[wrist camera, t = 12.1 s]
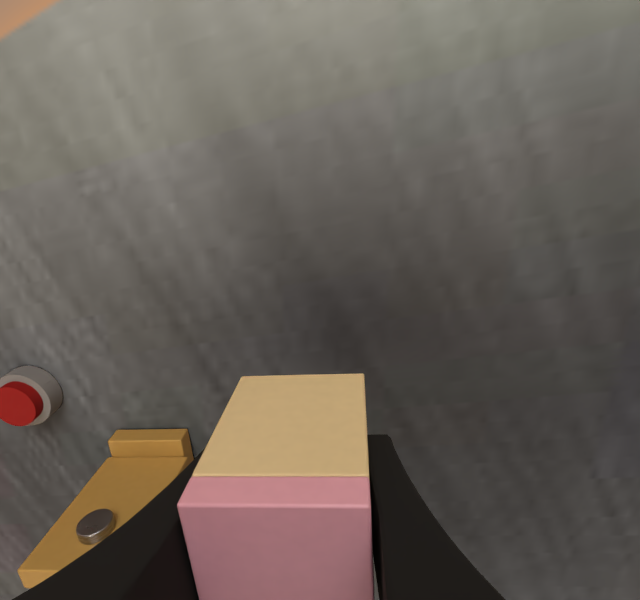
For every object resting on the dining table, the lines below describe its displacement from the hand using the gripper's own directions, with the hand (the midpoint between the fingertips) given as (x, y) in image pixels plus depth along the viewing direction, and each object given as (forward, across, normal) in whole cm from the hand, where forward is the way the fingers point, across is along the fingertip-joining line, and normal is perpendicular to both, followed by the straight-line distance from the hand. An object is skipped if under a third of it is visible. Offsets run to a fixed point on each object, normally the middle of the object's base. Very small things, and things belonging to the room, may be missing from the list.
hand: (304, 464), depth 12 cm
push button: (+8, +16, +2) cm, 18 cm away
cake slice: (+2, 0, 0) cm, 2 cm away
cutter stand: (+8, +10, +8) cm, 15 cm away
